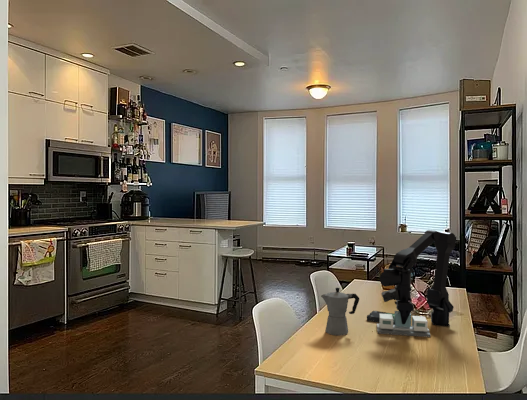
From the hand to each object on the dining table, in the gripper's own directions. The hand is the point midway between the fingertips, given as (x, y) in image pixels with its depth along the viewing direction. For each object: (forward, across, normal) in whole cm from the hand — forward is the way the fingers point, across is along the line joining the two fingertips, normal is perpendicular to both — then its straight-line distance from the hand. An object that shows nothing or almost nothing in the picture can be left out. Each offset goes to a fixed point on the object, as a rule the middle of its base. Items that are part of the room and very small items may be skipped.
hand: (402, 322), depth 179 cm
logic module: (+1, 0, 0) cm, 1 cm away
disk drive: (+4, -14, -6) cm, 16 cm away
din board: (+4, 0, 0) cm, 4 cm away
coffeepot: (+4, +7, -25) cm, 26 cm away
